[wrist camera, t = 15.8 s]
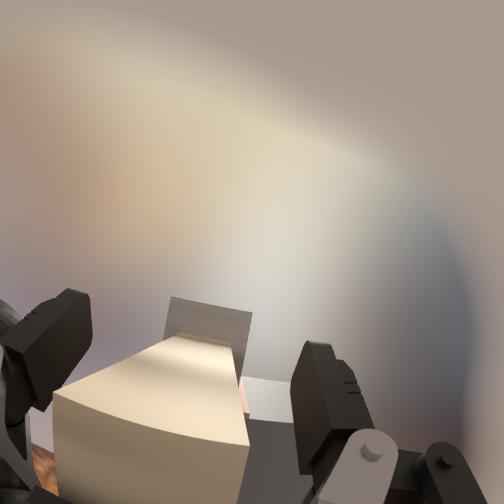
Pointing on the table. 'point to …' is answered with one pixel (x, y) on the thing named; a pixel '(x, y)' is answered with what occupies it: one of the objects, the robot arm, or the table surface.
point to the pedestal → (270, 445)
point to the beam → (159, 417)
